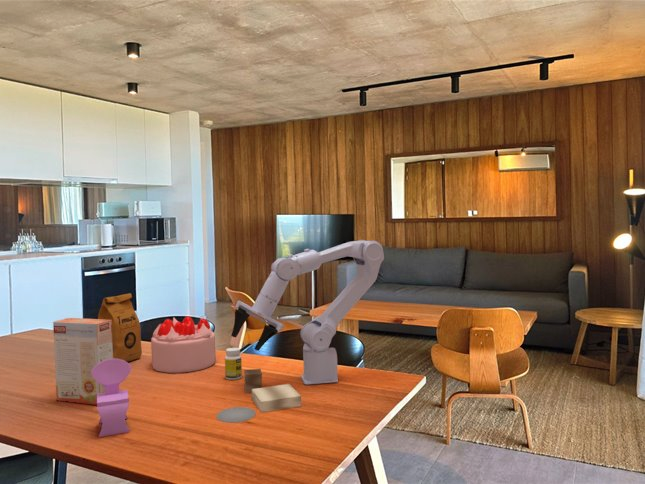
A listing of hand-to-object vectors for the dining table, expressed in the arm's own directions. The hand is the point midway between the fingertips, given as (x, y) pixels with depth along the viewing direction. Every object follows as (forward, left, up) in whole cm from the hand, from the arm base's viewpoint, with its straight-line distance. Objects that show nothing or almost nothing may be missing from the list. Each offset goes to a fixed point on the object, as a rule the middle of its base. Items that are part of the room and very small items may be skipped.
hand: (244, 343), depth 139 cm
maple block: (-7, +12, -13) cm, 19 cm away
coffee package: (+39, -38, -13) cm, 56 cm away
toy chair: (+30, +19, -13) cm, 38 cm away
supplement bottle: (+3, -11, -13) cm, 17 cm away
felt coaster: (+3, +18, -13) cm, 22 cm away
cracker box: (+41, -2, -13) cm, 43 cm away
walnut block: (-2, +1, -13) cm, 13 cm away
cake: (+18, -29, -13) cm, 37 cm away
